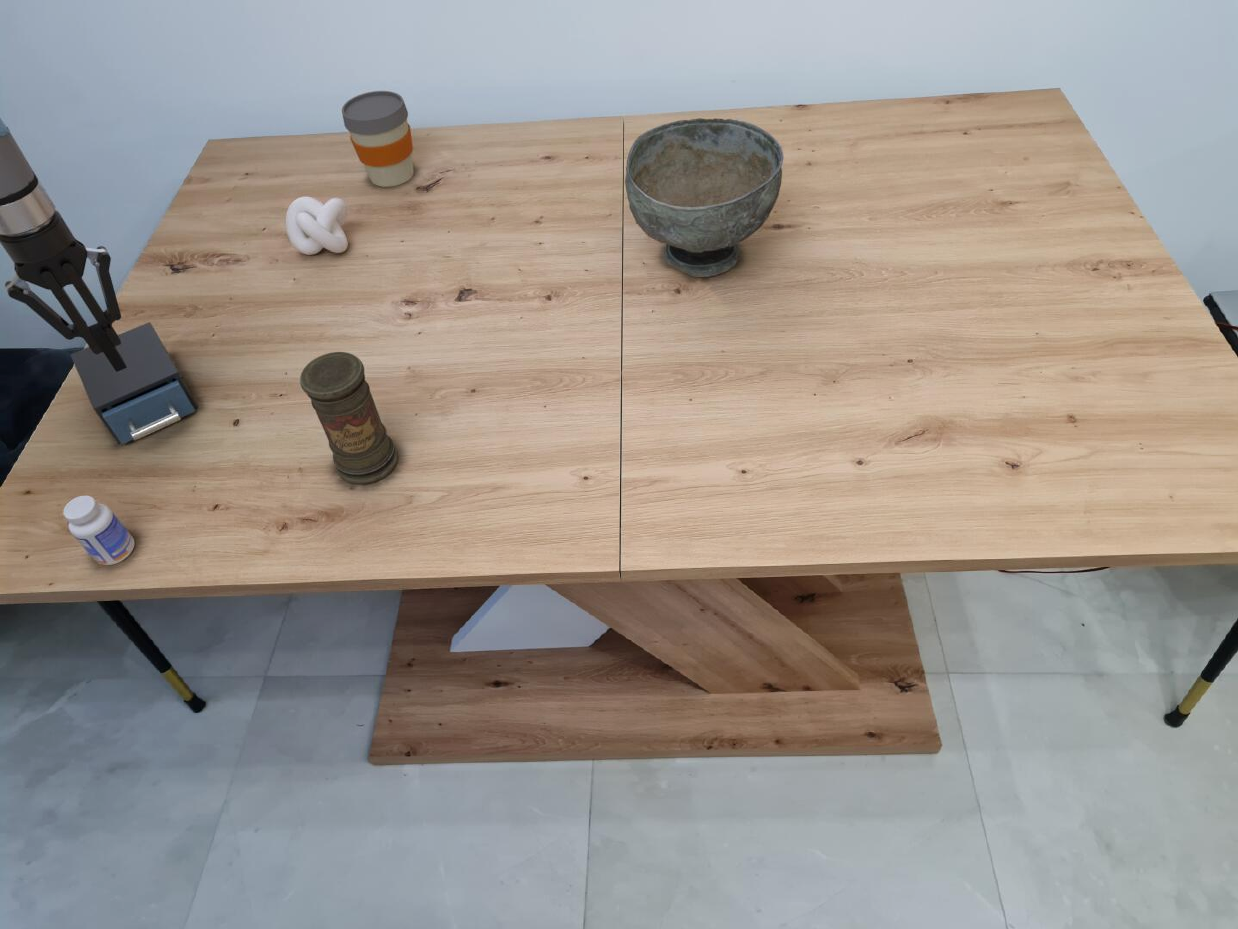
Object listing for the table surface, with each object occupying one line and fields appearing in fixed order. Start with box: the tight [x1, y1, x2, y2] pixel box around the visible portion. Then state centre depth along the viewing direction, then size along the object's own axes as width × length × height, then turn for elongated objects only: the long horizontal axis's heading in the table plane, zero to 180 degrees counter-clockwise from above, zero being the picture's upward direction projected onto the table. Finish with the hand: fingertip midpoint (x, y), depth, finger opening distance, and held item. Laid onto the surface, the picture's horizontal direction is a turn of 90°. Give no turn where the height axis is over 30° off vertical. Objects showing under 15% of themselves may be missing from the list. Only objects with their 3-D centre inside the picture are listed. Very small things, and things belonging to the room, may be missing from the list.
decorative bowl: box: [624, 117, 785, 278], centre depth 153 cm, size 26×26×20 cm
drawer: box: [102, 379, 196, 445], centre depth 139 cm, size 19×11×6 cm, turn 35°
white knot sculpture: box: [285, 196, 349, 256], centre depth 167 cm, size 11×12×9 cm
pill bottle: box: [62, 495, 135, 566], centre depth 121 cm, size 5×5×10 cm
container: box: [299, 351, 399, 486], centre depth 125 cm, size 9×9×18 cm
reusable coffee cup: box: [341, 90, 414, 188], centre depth 181 cm, size 13×13×15 cm
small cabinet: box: [70, 321, 199, 445], centre depth 142 cm, size 16×13×8 cm
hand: (119, 364), depth 128 cm, fingers closed
